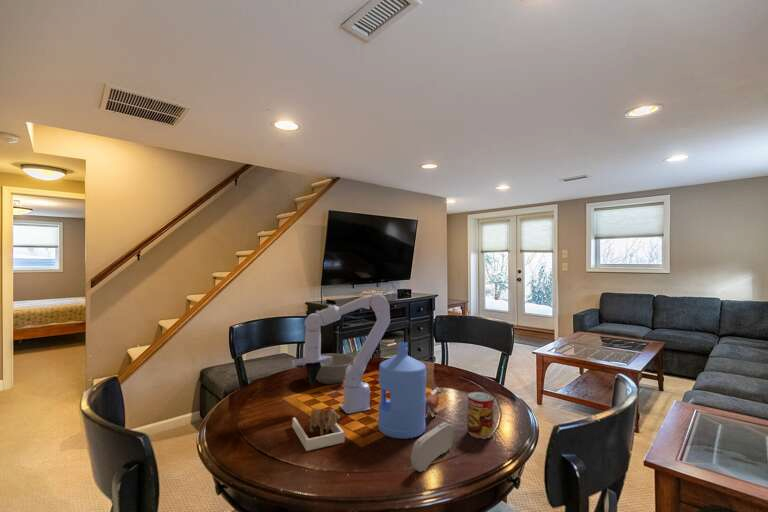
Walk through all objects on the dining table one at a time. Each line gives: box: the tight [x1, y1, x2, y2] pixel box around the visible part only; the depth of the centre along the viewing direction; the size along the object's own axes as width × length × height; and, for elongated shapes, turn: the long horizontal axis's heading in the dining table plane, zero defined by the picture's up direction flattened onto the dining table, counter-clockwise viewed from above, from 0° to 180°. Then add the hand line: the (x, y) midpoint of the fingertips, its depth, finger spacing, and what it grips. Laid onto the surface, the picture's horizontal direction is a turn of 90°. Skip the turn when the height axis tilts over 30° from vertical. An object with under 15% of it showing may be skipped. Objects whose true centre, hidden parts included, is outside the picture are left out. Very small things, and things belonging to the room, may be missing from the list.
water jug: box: [377, 341, 427, 440], centre depth 119 cm, size 16×16×28 cm
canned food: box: [467, 391, 494, 435], centre depth 116 cm, size 8×8×12 cm
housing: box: [292, 417, 346, 452], centre depth 113 cm, size 12×17×3 cm
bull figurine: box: [425, 387, 443, 419], centre depth 130 cm, size 4×13×8 cm, turn 155°
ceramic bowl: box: [316, 352, 356, 385], centre depth 165 cm, size 22×23×10 cm
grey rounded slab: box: [410, 421, 454, 473], centre depth 100 cm, size 20×2×8 cm, turn 141°
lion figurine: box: [305, 408, 341, 436], centre depth 114 cm, size 15×5×9 cm, turn 49°
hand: (312, 383), depth 133 cm, fingers closed
